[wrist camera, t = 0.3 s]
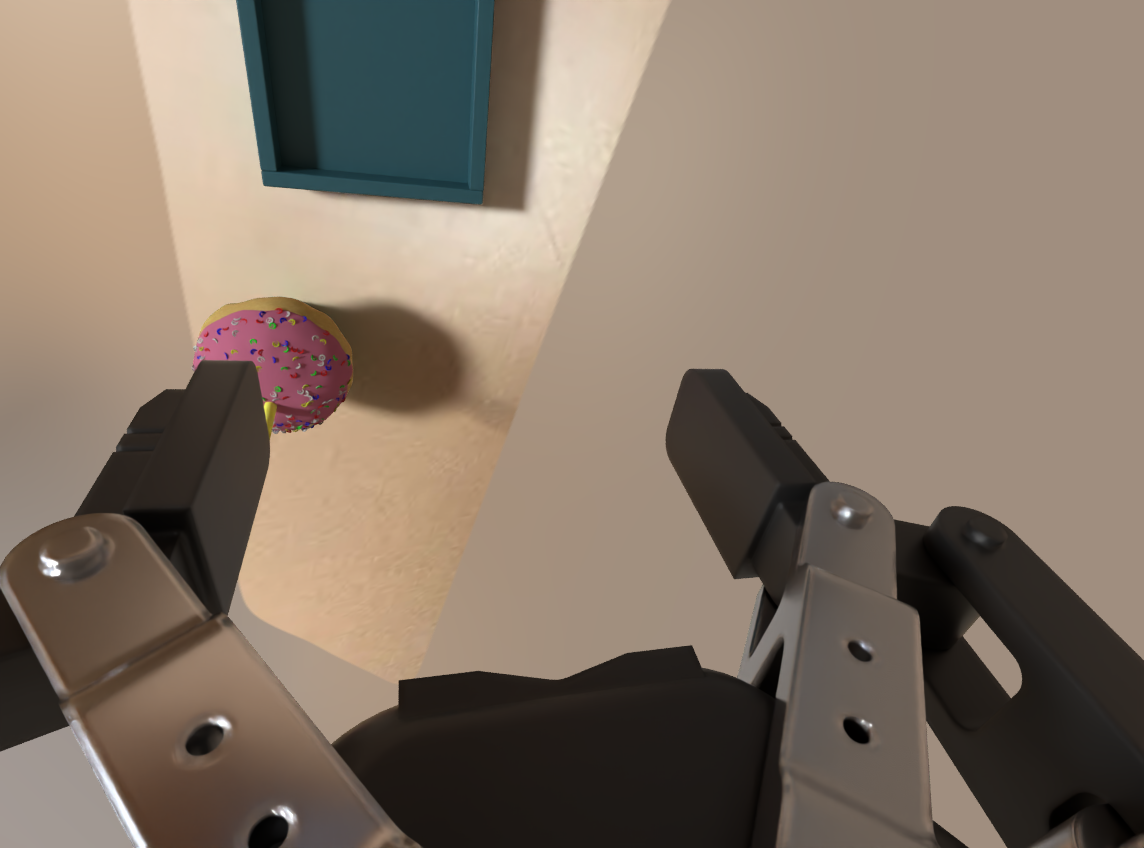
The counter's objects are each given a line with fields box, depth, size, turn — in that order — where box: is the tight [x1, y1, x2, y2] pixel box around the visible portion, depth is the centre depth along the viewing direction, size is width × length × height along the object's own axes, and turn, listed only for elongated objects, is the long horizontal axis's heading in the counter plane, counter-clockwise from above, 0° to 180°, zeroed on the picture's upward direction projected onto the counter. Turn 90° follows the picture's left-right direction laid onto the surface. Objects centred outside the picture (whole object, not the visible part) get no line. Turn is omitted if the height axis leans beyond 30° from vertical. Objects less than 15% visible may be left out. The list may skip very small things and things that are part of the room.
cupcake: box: [192, 297, 353, 440], centre depth 34 cm, size 9×8×12 cm
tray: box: [236, 0, 495, 205], centre depth 29 cm, size 17×12×2 cm
